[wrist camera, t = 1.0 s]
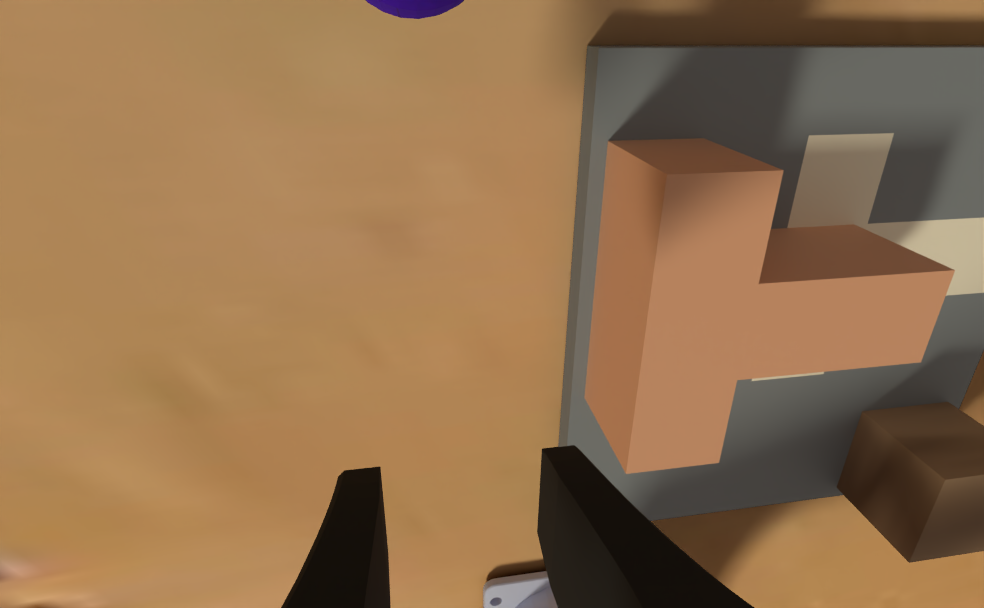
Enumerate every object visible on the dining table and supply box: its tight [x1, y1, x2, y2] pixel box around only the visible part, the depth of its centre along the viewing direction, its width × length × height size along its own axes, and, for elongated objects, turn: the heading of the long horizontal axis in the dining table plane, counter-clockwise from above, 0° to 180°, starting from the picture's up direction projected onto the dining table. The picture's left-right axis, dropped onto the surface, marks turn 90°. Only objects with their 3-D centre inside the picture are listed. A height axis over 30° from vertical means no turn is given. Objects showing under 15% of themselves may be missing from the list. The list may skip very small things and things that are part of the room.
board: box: [558, 46, 984, 521], centre depth 22 cm, size 18×17×1 cm
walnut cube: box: [837, 402, 984, 563], centre depth 24 cm, size 4×4×4 cm
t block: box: [584, 138, 955, 474], centre depth 19 cm, size 9×9×4 cm
